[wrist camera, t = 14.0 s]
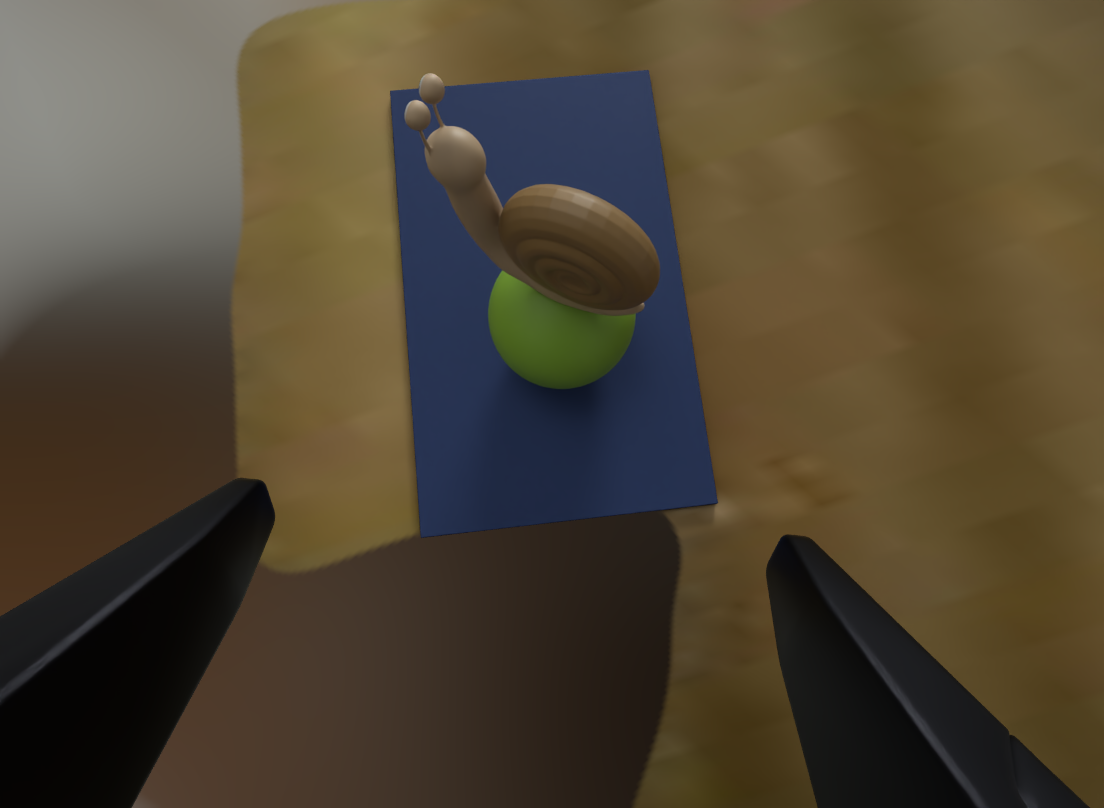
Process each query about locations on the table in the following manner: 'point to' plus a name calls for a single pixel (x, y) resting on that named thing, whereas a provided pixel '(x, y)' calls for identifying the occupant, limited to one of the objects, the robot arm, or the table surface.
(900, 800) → the robot arm
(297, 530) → the table surface
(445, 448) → the navy cloth
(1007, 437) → the table surface
